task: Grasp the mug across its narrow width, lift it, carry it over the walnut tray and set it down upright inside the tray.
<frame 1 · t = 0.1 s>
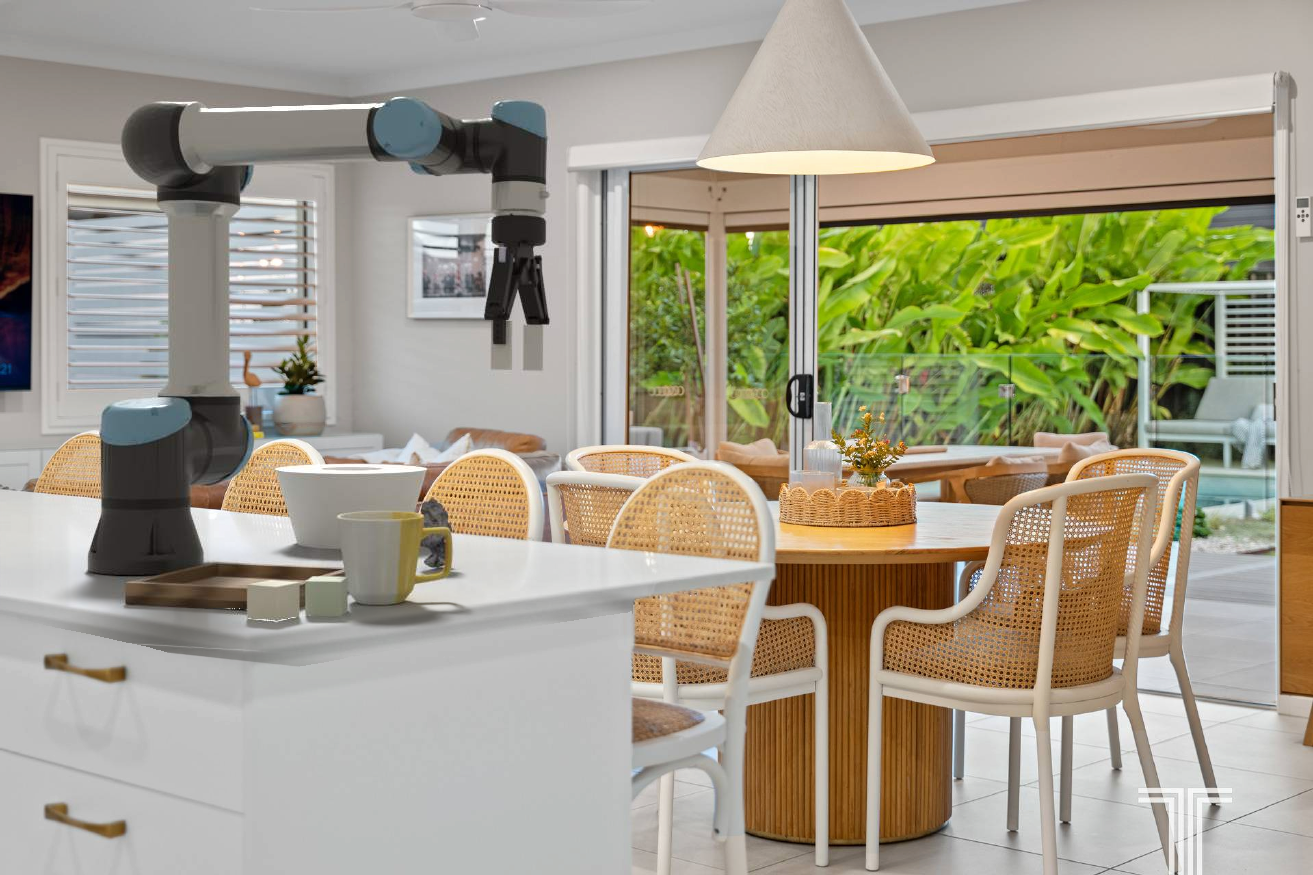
hand: (517, 370, 200), 28 cm above the table, fingers open, 13 cm apart
bowl: (351, 543, 234), on the table
grey stone bust: (433, 569, 204), on the table
cream block: (273, 619, 160), on the table
sage block: (326, 613, 164), on the table
tray: (246, 595, 177), on the table
mug: (394, 603, 173), on the table
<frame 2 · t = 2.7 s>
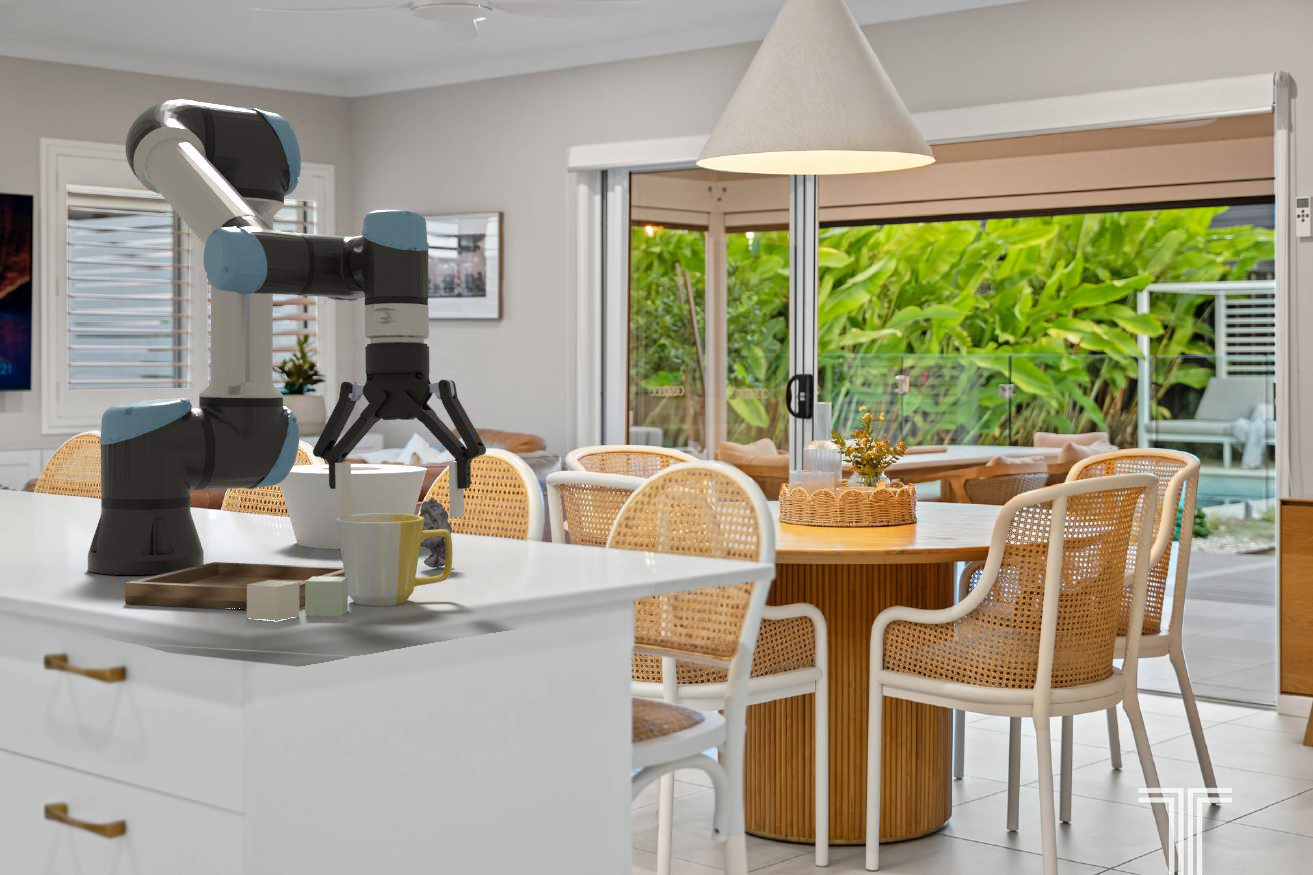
hand: (399, 520, 172), 10 cm above the table, fingers open, 14 cm apart
mug: (394, 605, 173), on the table, touching gripper
everything else where it was.
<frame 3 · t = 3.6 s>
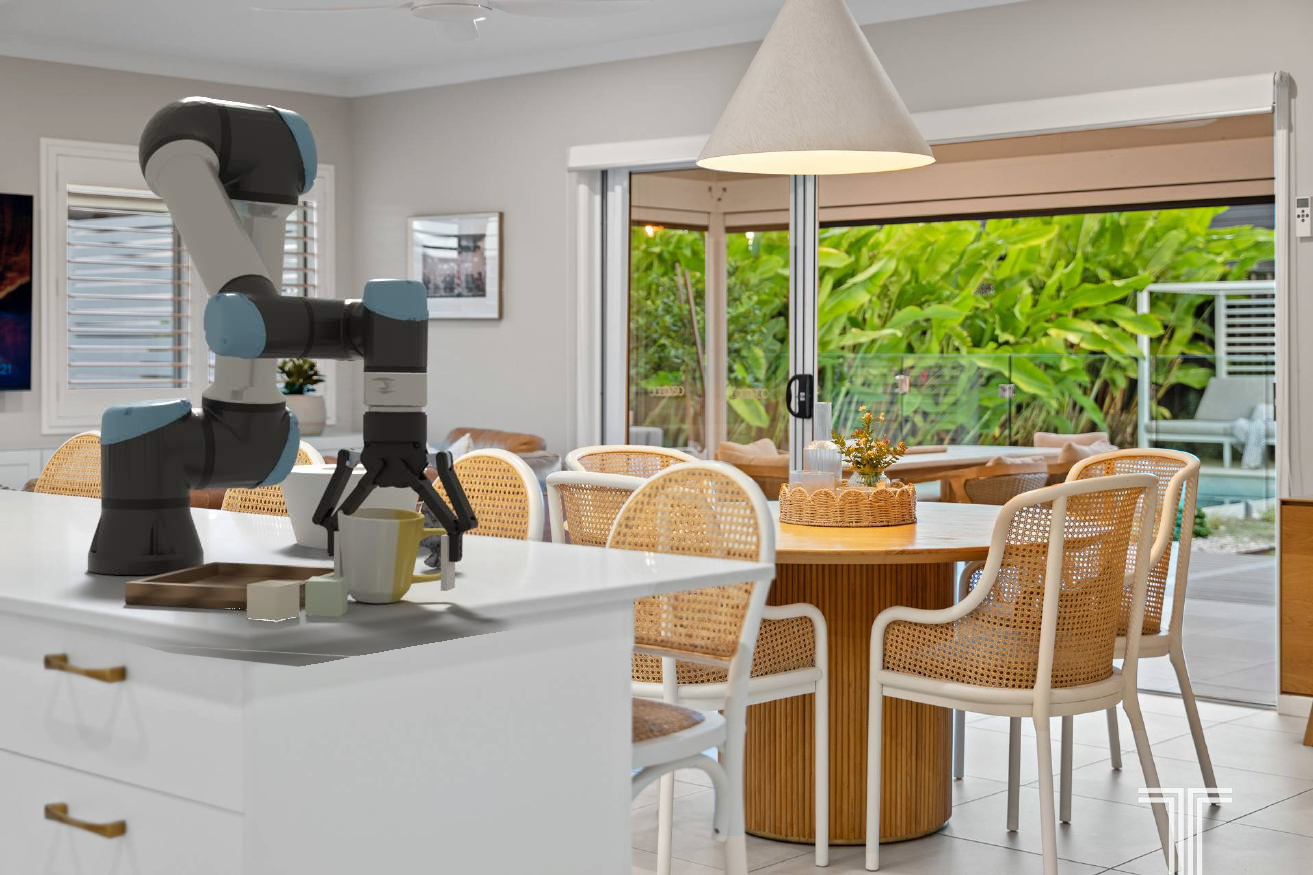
hand: (394, 587, 173), 2 cm above the table, fingers open, 13 cm apart
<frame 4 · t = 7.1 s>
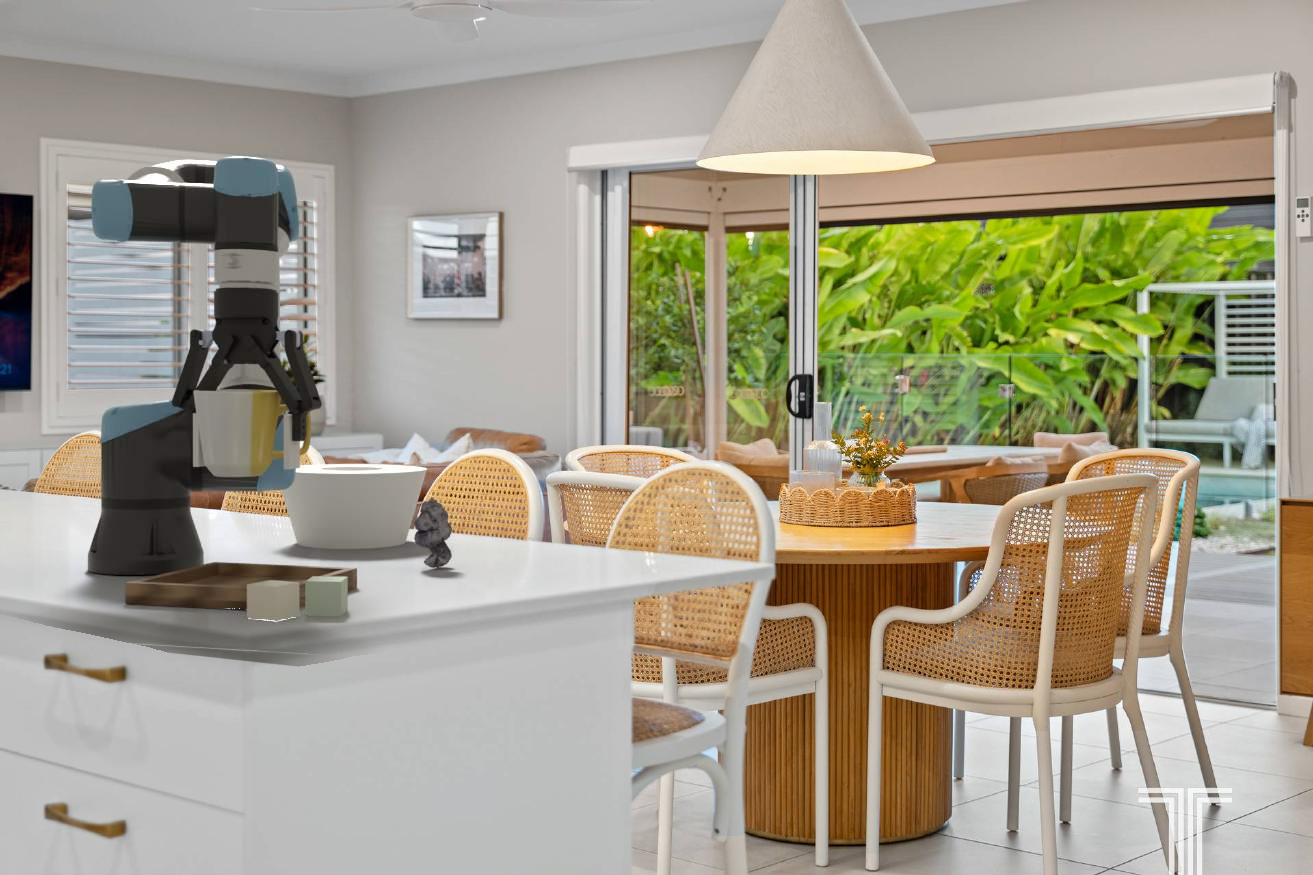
hand: (246, 467, 176), 16 cm above the table, fingers closed on mug, 11 cm apart
mug: (252, 477, 176), point 14 cm above the table, touching gripper
everything else where it was.
when the fingers open (3 cm above the table, at t = 10.3 s): mug drops 1 cm, resting on tray.
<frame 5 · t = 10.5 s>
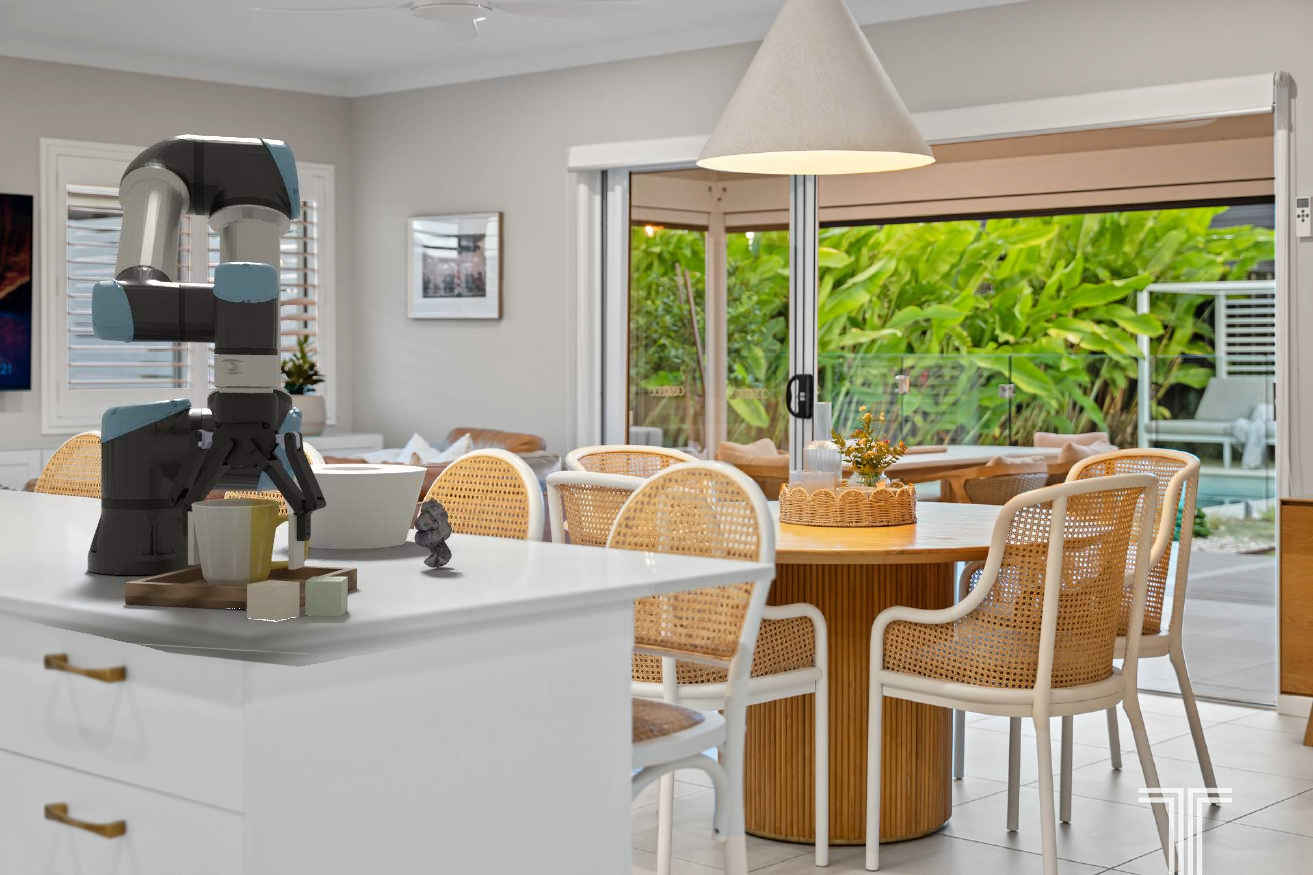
hand: (246, 566, 176), 4 cm above the table, fingers open, 13 cm apart
mug: (250, 588, 177), point 1 cm above the table, touching tray
everything else where it was.
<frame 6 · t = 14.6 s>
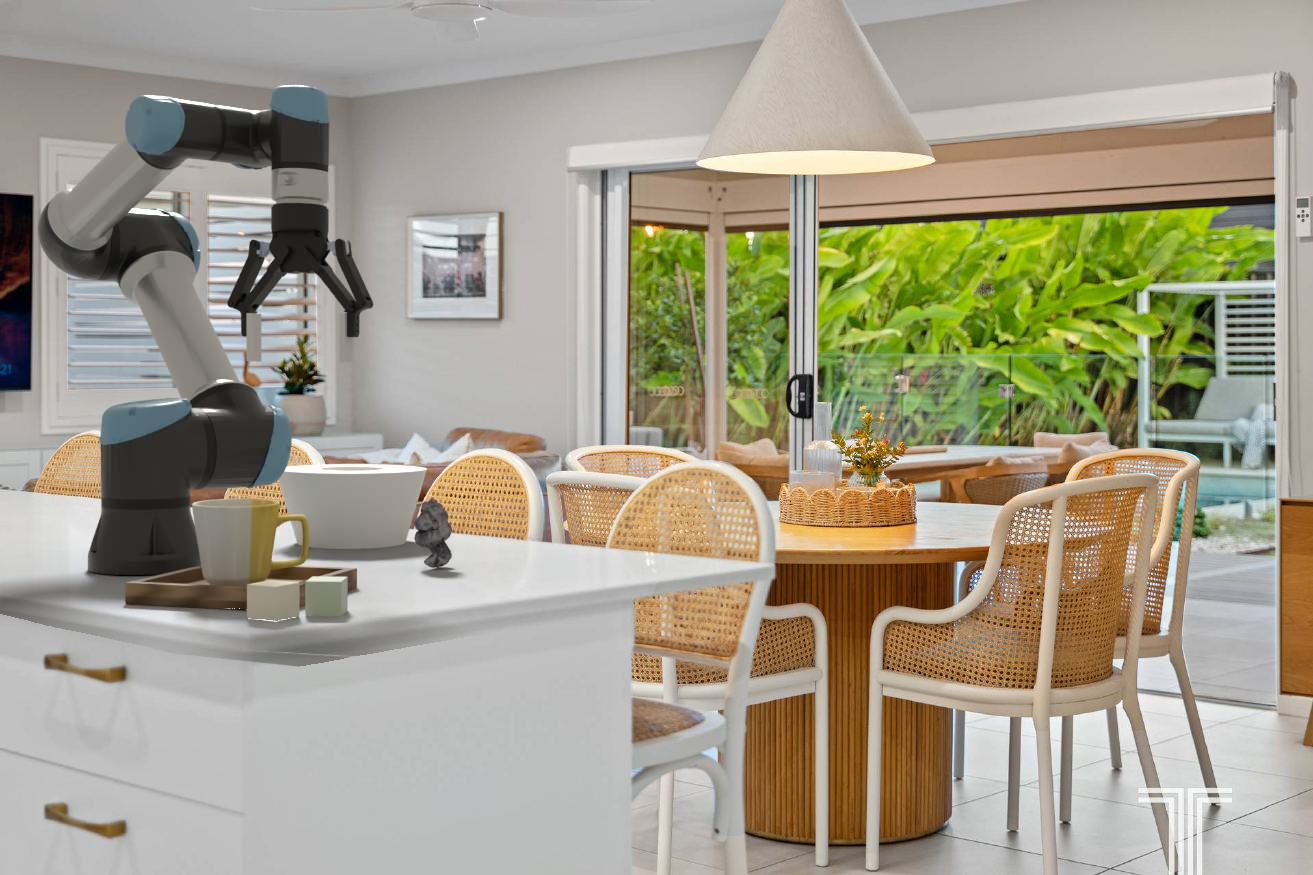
hand: (299, 362, 195), 29 cm above the table, fingers open, 13 cm apart
nothing on the table moved.
at the end: mug inside the target area on the tray (0.5 cm from its centre), point 0.8 cm above the tray's base; mug tilted 0°; the gripper is holding nothing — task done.
